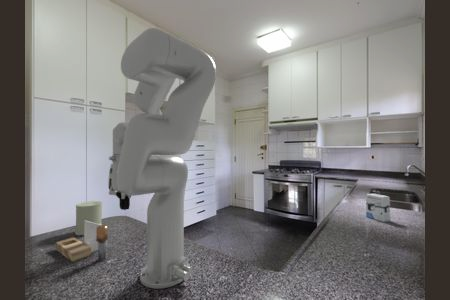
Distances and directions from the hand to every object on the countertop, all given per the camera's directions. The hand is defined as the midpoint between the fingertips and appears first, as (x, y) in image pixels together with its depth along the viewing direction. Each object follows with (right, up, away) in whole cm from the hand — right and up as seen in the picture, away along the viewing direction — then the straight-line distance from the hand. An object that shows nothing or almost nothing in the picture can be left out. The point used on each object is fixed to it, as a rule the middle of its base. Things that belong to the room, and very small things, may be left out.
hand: (124, 209), depth 73 cm
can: (-20, -12, +10) cm, 26 cm away
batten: (-13, -12, -8) cm, 19 cm away
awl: (0, -12, -13) cm, 17 cm away
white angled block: (-7, -12, -6) cm, 15 cm away
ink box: (+113, -13, +25) cm, 117 cm away
